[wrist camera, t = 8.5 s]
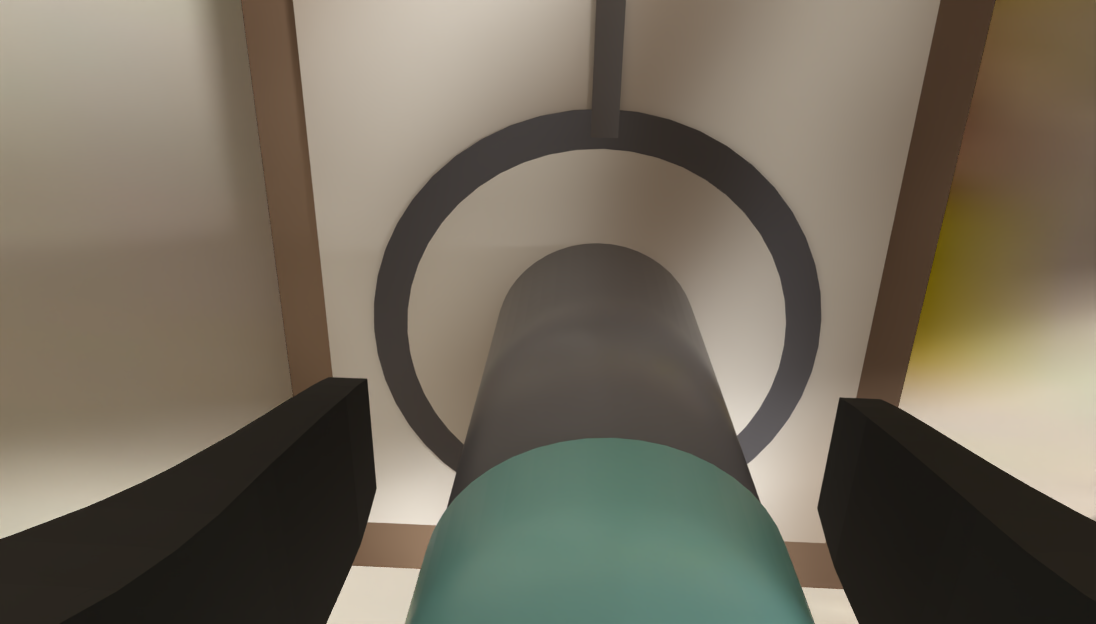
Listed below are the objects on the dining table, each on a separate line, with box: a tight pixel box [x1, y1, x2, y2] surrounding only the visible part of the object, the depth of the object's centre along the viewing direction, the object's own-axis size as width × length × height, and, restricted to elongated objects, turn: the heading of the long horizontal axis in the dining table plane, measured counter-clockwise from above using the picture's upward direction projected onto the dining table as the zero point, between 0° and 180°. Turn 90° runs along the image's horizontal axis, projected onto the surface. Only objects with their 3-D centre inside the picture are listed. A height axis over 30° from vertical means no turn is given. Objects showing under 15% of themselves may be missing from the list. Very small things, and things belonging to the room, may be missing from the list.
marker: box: [405, 243, 815, 624], centre depth 10 cm, size 4×4×10 cm
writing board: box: [241, 0, 995, 589], centre depth 14 cm, size 13×20×2 cm, turn 179°
